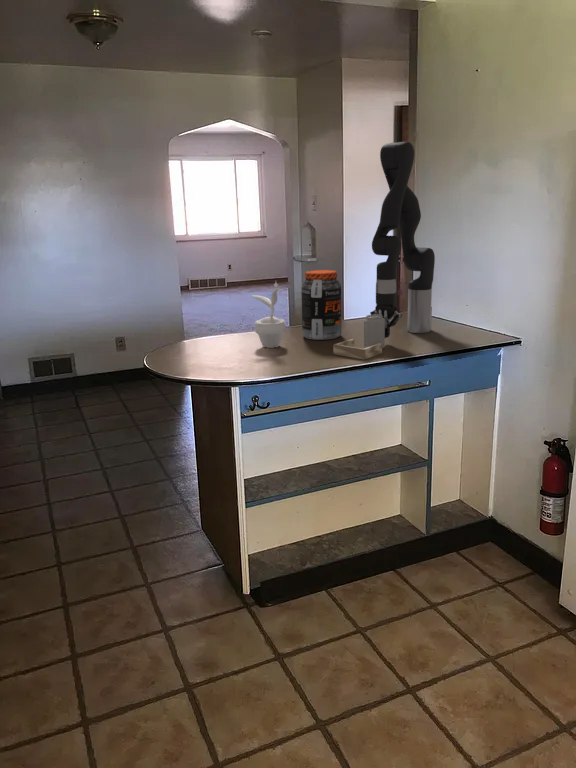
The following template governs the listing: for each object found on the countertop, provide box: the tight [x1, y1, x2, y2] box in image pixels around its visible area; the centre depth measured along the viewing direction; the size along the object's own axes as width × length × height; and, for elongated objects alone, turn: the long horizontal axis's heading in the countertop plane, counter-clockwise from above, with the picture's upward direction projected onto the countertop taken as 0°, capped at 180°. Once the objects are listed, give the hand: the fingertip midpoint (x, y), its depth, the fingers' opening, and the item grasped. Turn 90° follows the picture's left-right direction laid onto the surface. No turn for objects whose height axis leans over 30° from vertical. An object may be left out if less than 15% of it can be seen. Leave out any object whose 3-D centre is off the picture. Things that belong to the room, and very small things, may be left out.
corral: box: [332, 338, 383, 360], centre depth 225 cm, size 11×13×4 cm
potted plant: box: [251, 281, 287, 349], centre depth 237 cm, size 13×12×25 cm
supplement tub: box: [301, 269, 342, 341], centre depth 250 cm, size 16×16×26 cm
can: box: [363, 314, 386, 349], centre depth 231 cm, size 8×8×12 cm
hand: (385, 337), depth 237 cm, fingers closed
